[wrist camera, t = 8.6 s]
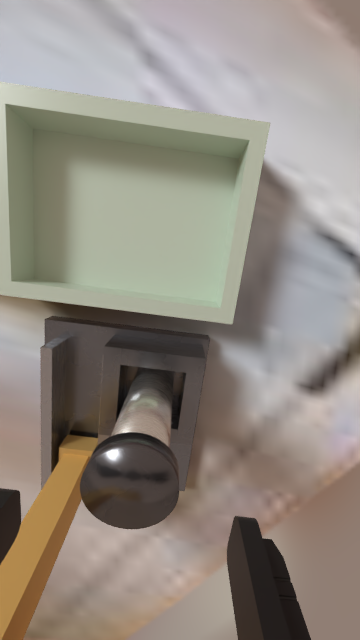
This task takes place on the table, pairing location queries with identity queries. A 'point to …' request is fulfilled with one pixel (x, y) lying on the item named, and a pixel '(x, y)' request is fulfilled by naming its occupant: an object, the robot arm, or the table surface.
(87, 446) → the bracket
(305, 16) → the table surface
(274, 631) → the robot arm
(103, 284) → the tray
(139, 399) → the pin
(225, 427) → the table surface
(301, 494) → the table surface
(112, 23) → the table surface
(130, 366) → the hitch
